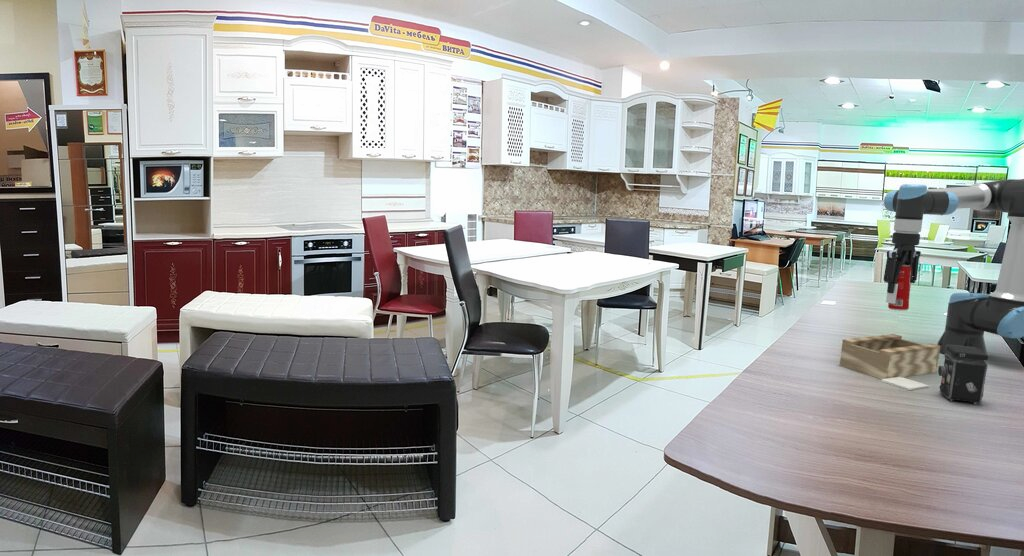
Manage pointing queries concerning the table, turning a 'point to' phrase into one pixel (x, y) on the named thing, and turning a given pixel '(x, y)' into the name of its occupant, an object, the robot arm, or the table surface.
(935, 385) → the table surface
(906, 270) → the beverage can
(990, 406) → the table surface
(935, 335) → the table surface
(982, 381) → the camera
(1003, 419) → the table surface
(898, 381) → the tile
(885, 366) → the slot box
